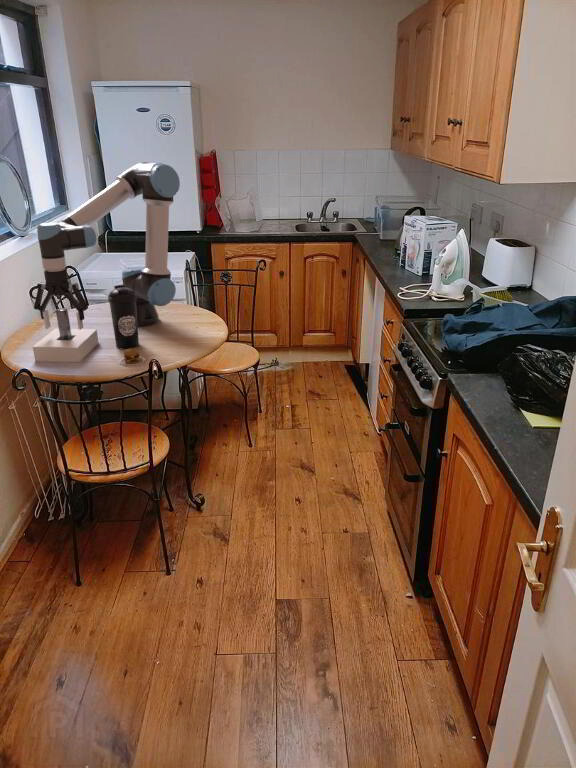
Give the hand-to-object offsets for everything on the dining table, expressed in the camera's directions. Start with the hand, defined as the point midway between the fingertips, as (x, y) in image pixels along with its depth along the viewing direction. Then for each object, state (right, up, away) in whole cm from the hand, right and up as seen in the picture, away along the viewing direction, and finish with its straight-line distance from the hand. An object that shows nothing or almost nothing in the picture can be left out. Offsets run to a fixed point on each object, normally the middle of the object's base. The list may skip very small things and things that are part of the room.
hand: (64, 328), depth 205 cm
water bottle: (+20, -6, +11) cm, 23 cm away
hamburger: (+26, -13, -4) cm, 29 cm away
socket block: (0, -8, +4) cm, 9 cm away
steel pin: (0, -6, +3) cm, 7 cm away
